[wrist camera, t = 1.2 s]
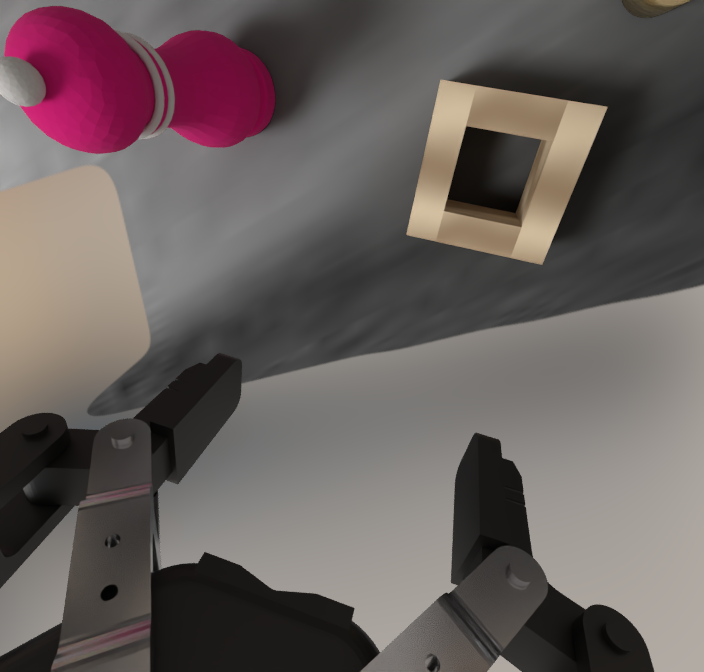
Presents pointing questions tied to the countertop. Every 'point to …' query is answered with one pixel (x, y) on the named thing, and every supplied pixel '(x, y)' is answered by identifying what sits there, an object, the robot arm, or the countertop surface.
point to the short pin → (651, 7)
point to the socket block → (543, 182)
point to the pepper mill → (131, 83)
